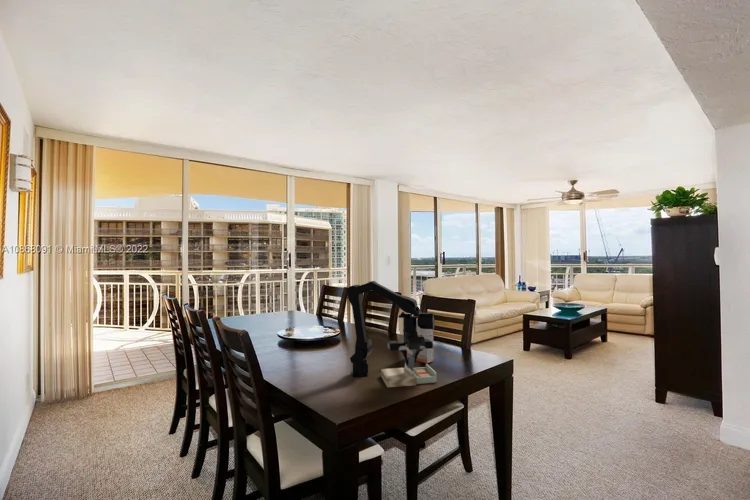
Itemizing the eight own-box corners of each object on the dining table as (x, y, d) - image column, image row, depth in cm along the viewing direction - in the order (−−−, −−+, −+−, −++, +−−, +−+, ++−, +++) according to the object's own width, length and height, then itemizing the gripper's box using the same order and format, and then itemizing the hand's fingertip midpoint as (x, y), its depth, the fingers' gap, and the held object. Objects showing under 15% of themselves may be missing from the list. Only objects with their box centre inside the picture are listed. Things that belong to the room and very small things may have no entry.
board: (387, 387, 150) (387, 379, 150) (381, 376, 164) (381, 369, 164) (416, 385, 152) (416, 377, 152) (407, 374, 166) (407, 367, 166)
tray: (416, 383, 153) (416, 374, 153) (408, 373, 166) (408, 364, 166) (436, 382, 155) (436, 372, 155) (427, 372, 168) (426, 363, 168)
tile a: (430, 376, 156) (430, 380, 156) (427, 373, 160) (427, 377, 160) (421, 377, 155) (421, 380, 155) (418, 374, 159) (418, 377, 159)
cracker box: (404, 358, 190) (403, 317, 190) (412, 356, 194) (411, 315, 194) (426, 364, 180) (426, 320, 180) (434, 361, 184) (433, 319, 184)
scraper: (409, 375, 154) (411, 359, 154) (403, 367, 165) (405, 352, 165) (415, 375, 154) (417, 360, 155) (408, 367, 165) (410, 353, 165)
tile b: (426, 371, 162) (426, 375, 162) (423, 369, 166) (423, 372, 166) (417, 372, 161) (417, 376, 161) (414, 369, 165) (414, 373, 165)
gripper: (392, 333, 150) (392, 372, 150) (437, 331, 153) (437, 369, 153) (387, 327, 161) (387, 364, 161) (428, 326, 164) (429, 361, 164)
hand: (410, 364), depth 160 cm, fingers closed on scraper, 3 cm apart
